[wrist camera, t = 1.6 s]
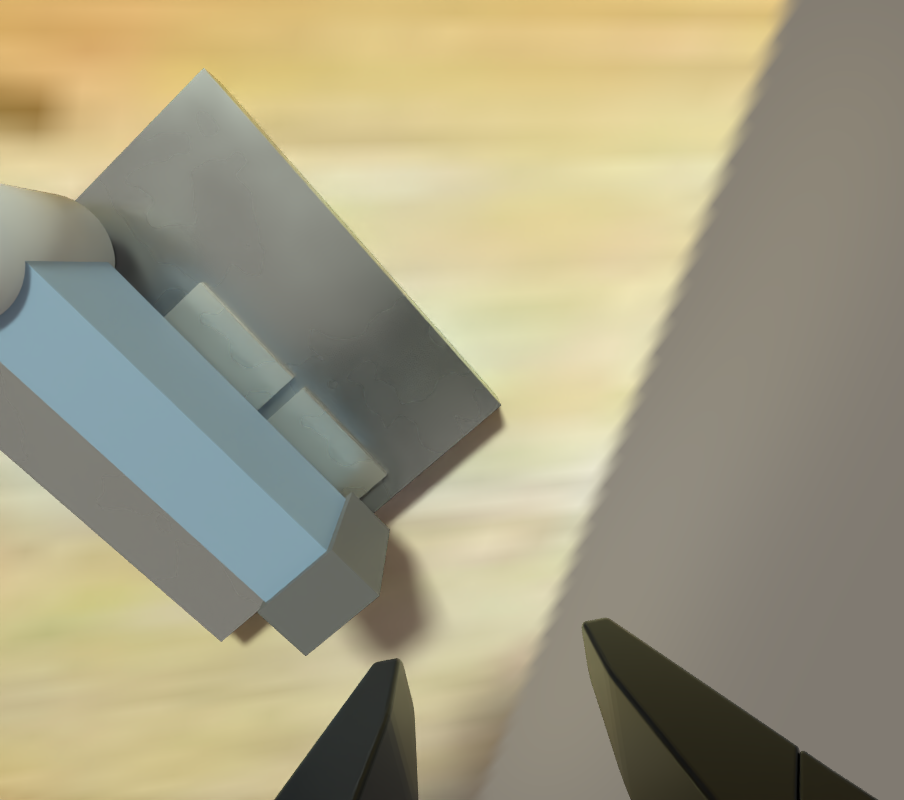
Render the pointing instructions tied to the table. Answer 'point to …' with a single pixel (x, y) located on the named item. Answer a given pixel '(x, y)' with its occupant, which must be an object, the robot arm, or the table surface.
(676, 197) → the table surface
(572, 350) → the table surface
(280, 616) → the lever
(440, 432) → the lid
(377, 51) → the table surface
